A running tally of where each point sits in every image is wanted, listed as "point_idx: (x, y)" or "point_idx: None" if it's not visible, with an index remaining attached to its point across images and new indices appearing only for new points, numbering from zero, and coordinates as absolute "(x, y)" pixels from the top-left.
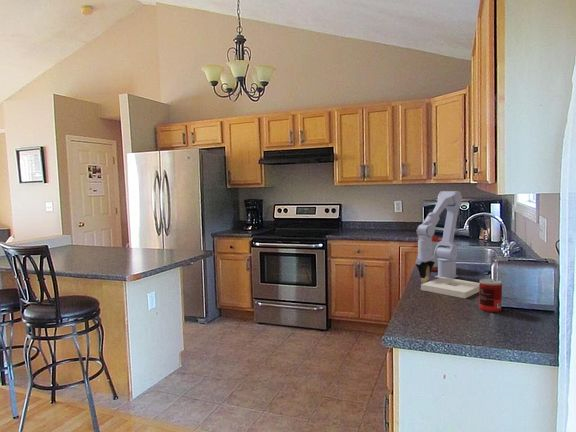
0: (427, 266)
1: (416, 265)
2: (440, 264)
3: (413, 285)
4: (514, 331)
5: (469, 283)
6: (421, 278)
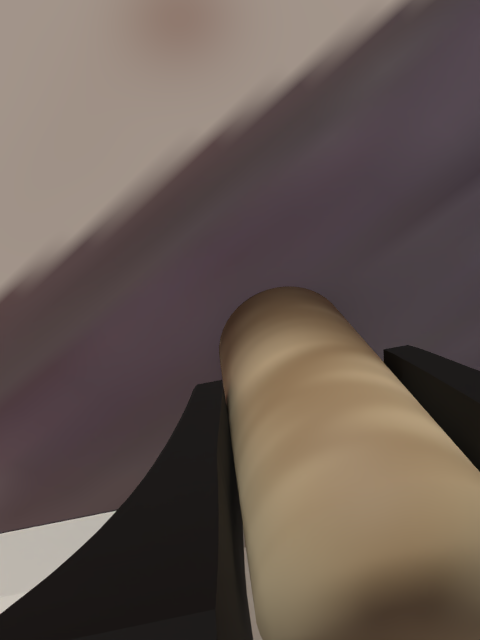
0: (464, 607)
1: (13, 620)
2: None
3: (3, 351)
4: None
5: None
6: (229, 368)
